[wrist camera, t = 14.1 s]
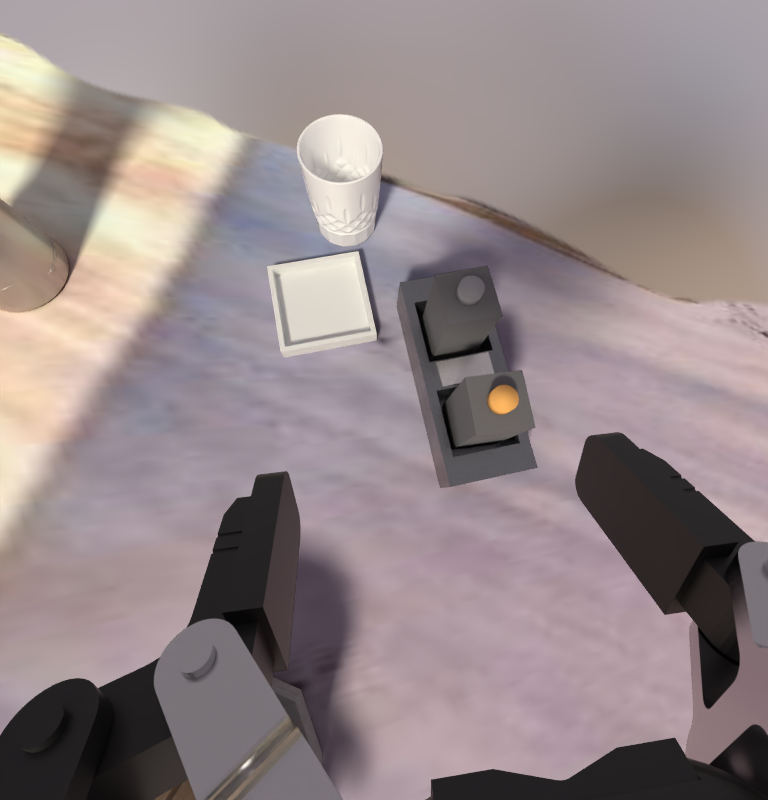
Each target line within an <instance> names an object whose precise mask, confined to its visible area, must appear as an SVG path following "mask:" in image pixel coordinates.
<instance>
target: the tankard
mask: <svg viewBox="0 0 768 800" xmlns="http://www.w3.org/2000/svg"><path fill="white" fill-rule="evenodd" d="M272 690H273V691H274V693H275V695H276V696H277V698H278V700H279V701H280V703H281V705H282V706H283V708H284V709H285V711H286V713H287V714H288V716H289V717H290V719H291V720H292V722H293V723H295V725H296V726H297V727H298V729H299V730H300V732H301V733H302V735H303V736H304V738H305V739H306V741H307V742H308V744H309V746H310V747H311V749H312V751H313V752H314V754H315V755H316V757H317V759H318V760H319V762H320V764H321V762H322V756H323V754H322V751H321V748H320V745H319V742H318V739H317V736H316V733H315V730H314V727H313V724H312V721H311V718H310V715H309V712H308V709H307V706H306V703H305V700H304V697H303V694H302V691H301V689H299V688H296V687H294V686H292V685H290V684H288V683H285V682H283V681H281V680H279V679H276V678H274V677H273V680H272ZM155 800H196V798H195V795H194V793H193V790H192V787H191V785H190V782H189V779H188V780H186V781H184V782H183V783H181V784H179V785H177V786H176V787H174V788H172V789H171V790H169V791H167V792H165V793H164V794H162V795H160V796H159V797H157V798H155Z"/></svg>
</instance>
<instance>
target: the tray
mask: <svg viewBox="0 0 768 800" xmlns="http://www.w3.org/2000/svg"><path fill="white" fill-rule="evenodd" d="M267 269H268V275H269V282H270V288H271V294H272V300H273V307H274V313H275V319H276V326H277V332H278V338H279V344H280V351H281V353H282V355H283V357H284V358H285V357H290V356H295V355H301V354H306V353H311V352H317V351H322V350H328V349H333V348H338V347H344V346H349V345H355V344H360V343H365V342H371V341H376V340H377V333H376V329H375V324H374V320H373V315H372V311H371V306H370V302H369V297H368V293H367V288H366V284H365V279H364V274H363V270H362V265H361V261H360V256H359V252H358V251H357V252H351V253H345V254H339V255H333V256H327V257H321V258H315V259H309V260H303V261H297V262H291V263H285V264H279V265H273V266H267Z"/></svg>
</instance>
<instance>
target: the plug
mask: <svg viewBox="0 0 768 800" xmlns="http://www.w3.org/2000/svg"><path fill="white" fill-rule="evenodd" d="M442 409H443V414H444V420H445V426H446V431H447V435H448V439H449V443H450V447H451V450H455V449H462V448H470V447H477V446H485V445H492V444H496V443H498V442H501V441H503V440H506V439H508V438H511V437H513V436H515V435H518V434H520V433H523V432H525V431H528V430H530V429H532V428H535V424H534V419H533V415H532V411H531V406H530V402H529V397H528V393H527V389H526V384H525V380H524V376H523V371H522V370H519V371H511V372H503V373H495V374H487V375H479V376H470V377H465V378H464V379H463V380H462V382H461V383H460V384H459V385H458V387H457V388H456V389H455V390H454V392H453V393H452V394H451V396H450V397H449V398H448V399H447V401H446V402H445V403H444V404H443V406H442Z"/></svg>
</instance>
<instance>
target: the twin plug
mask: <svg viewBox="0 0 768 800" xmlns="http://www.w3.org/2000/svg"><path fill="white" fill-rule="evenodd" d="M502 315H503V314H502V311H501V308H500V305H499V301H498V298H497V295H496V292H495V288H494V285H493V282H492V278H491V275H490V272H489V269H488V266H483V267H477V268H471V269H466V270H460V271H454V272H448V273H443V274H437V275H435V276H434V279H433V283H432V286H431V290H430V293H429V297H428V300H427V304H426V307H425V311H424V314H423V317H422V321H421V324H420V327H421V331H422V335H423V339H424V343H425V347H426V351H427V355H428V359H429V362H433V361H438V360H444V359H449V358H454V357H459V356H464V355H470V354H475V352H476V351H477V349H478V348H479V347H480V345H481V344H482V343H483V341H484V340H485V338H486V337H487V336H488V334H489V333H490V332H491V330H492V329H493V327H494V326H495V325H496V323H497V322H498V321H499V319H500V318H501V317H502Z"/></svg>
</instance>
